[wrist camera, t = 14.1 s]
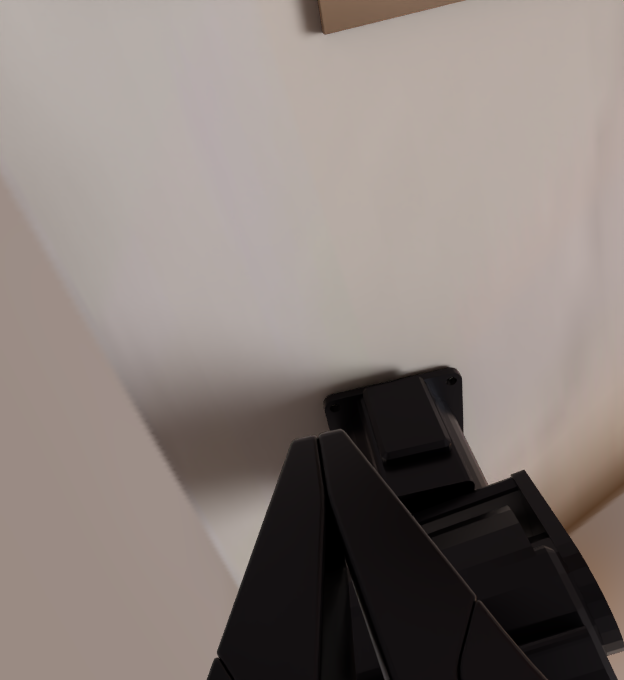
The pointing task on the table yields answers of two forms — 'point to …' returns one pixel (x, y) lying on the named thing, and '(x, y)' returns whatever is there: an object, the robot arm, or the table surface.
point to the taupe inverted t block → (369, 11)
